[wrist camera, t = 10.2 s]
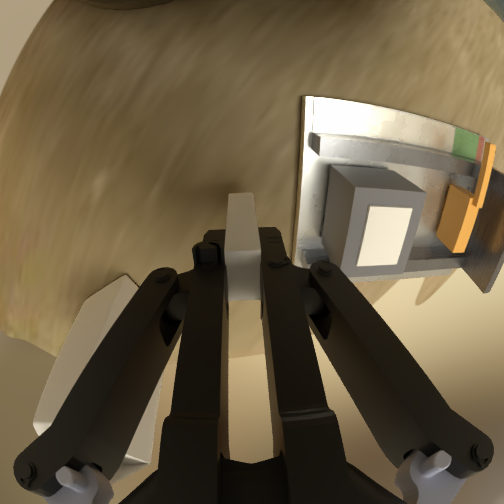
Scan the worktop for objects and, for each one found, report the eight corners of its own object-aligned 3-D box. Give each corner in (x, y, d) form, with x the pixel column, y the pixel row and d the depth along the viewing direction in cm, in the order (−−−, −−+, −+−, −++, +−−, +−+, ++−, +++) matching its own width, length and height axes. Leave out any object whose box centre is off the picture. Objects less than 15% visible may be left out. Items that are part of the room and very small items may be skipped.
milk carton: (174, 320, 27) (147, 510, 11) (129, 339, 28) (94, 496, 12) (126, 272, 23) (54, 481, 7) (85, 298, 25) (20, 463, 9)
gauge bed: (302, 96, 16) (338, 99, 10) (481, 135, 17) (535, 161, 11) (289, 277, 24) (305, 340, 18) (444, 268, 25) (478, 311, 19)
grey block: (330, 164, 17) (356, 188, 13) (393, 170, 17) (428, 194, 14) (321, 242, 20) (339, 279, 17) (378, 241, 21) (404, 275, 17)
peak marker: (459, 131, 15) (487, 142, 13) (471, 135, 16) (498, 146, 13) (435, 235, 21) (456, 256, 18) (447, 236, 21) (467, 256, 18)
